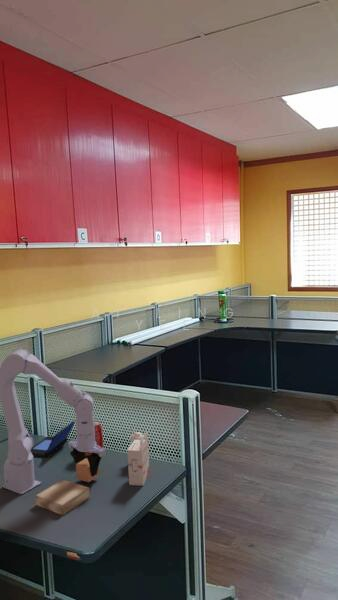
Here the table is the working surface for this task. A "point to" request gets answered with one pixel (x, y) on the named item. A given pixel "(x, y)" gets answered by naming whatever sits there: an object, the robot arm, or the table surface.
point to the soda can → (97, 435)
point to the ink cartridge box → (138, 461)
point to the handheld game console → (51, 443)
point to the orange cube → (85, 471)
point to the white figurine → (136, 436)
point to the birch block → (62, 496)
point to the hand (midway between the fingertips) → (87, 472)
